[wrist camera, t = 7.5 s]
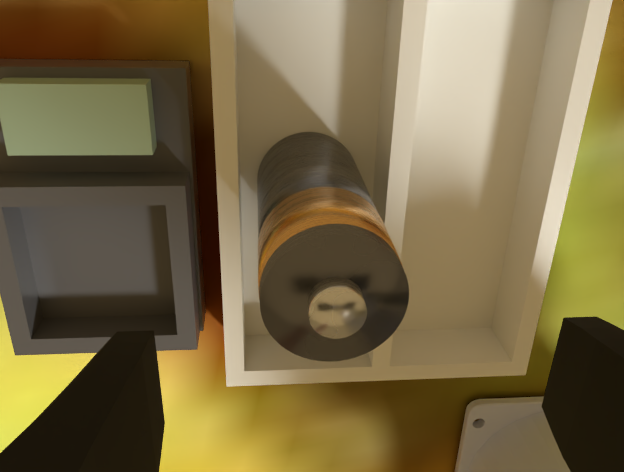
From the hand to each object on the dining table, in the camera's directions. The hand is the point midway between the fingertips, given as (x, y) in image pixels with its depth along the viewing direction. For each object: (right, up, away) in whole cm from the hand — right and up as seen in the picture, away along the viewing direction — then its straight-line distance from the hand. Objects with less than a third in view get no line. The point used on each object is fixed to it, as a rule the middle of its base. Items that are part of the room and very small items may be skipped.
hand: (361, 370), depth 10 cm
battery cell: (-1, +4, +8) cm, 9 cm away
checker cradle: (-8, +4, +9) cm, 12 cm away
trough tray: (+1, +5, +9) cm, 11 cm away
